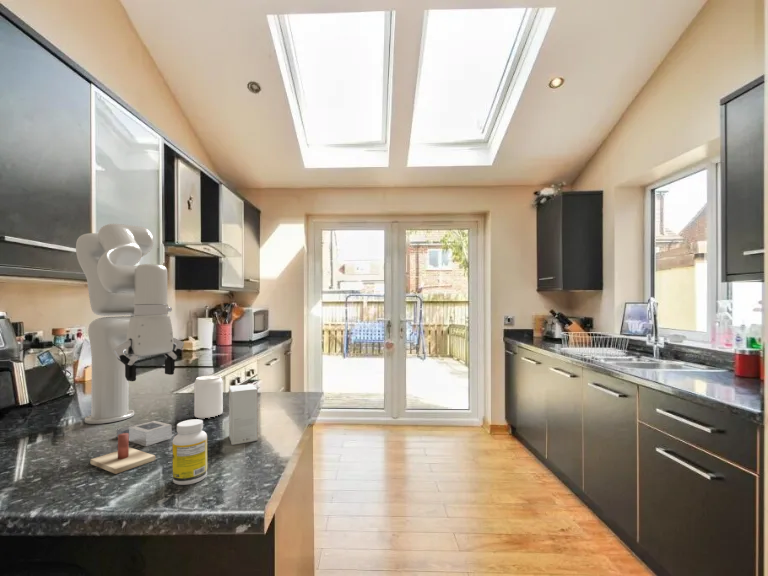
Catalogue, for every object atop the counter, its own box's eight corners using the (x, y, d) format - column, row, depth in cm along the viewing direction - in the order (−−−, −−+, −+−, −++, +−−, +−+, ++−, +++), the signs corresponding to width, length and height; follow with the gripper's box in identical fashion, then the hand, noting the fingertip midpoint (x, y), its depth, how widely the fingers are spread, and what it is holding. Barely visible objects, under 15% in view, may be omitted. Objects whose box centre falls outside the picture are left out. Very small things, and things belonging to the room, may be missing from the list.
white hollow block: (129, 441, 100) (129, 427, 100) (154, 433, 105) (154, 420, 105) (146, 446, 95) (146, 431, 96) (171, 438, 101) (171, 424, 101)
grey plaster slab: (117, 436, 103) (117, 429, 103) (140, 430, 108) (140, 423, 108) (122, 438, 101) (122, 431, 102) (146, 432, 107) (146, 424, 107)
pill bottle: (180, 473, 80) (180, 418, 80) (211, 471, 80) (211, 417, 81) (166, 487, 73) (166, 428, 74) (200, 485, 74) (200, 426, 74)
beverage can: (212, 420, 117) (211, 380, 117) (188, 419, 118) (188, 379, 119) (228, 412, 125) (227, 375, 125) (205, 411, 126) (205, 374, 127)
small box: (258, 441, 98) (257, 388, 98) (231, 445, 95) (231, 391, 95) (253, 431, 105) (253, 383, 105) (228, 435, 102) (228, 385, 103)
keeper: (90, 463, 85) (90, 436, 86) (129, 451, 92) (129, 426, 92) (115, 474, 80) (116, 444, 80) (155, 460, 87) (155, 432, 87)
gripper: (174, 311, 111) (174, 371, 110) (107, 312, 96) (106, 382, 95) (190, 310, 107) (190, 373, 106) (122, 312, 92) (122, 384, 91)
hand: (151, 377), depth 101 cm, fingers open, 9 cm apart
